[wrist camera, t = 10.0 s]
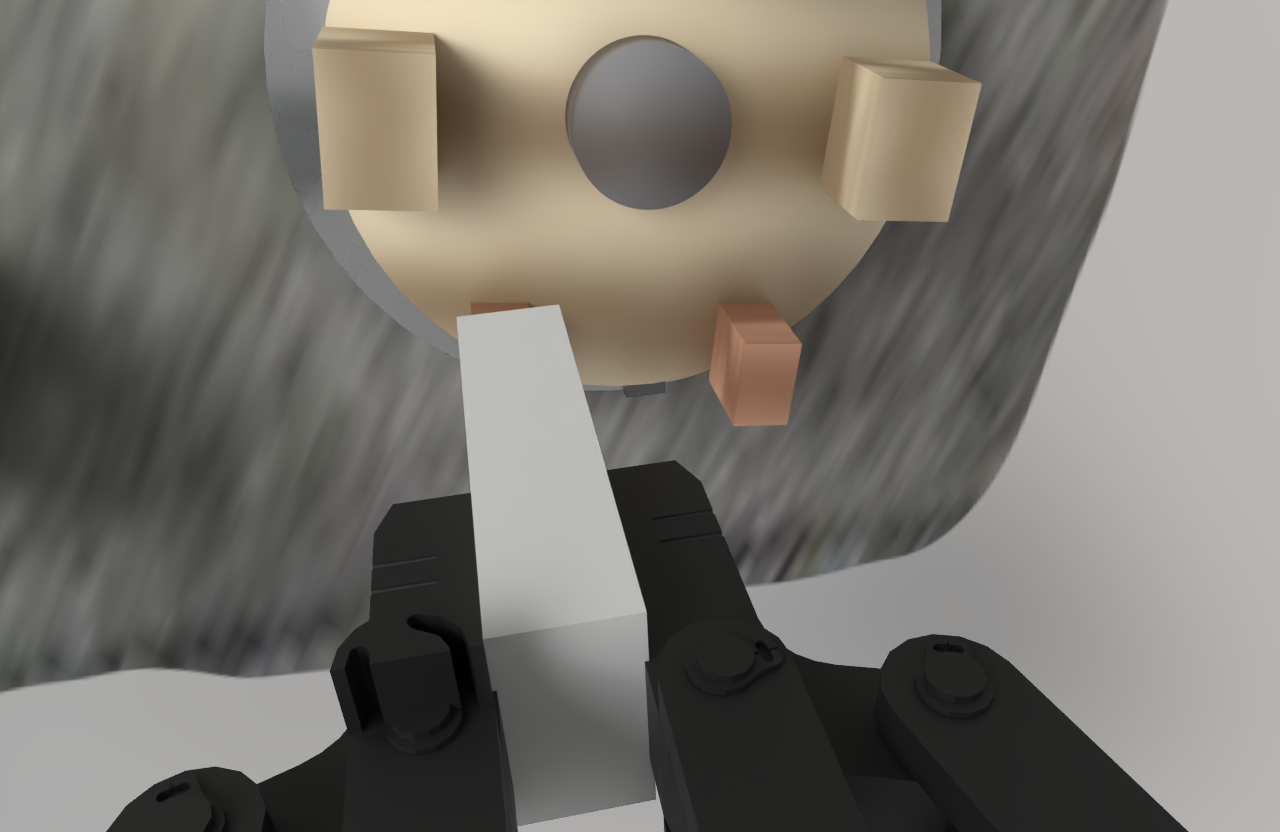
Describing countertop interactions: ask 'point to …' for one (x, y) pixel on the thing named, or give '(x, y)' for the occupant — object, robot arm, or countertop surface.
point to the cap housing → (292, 97)
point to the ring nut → (638, 166)
